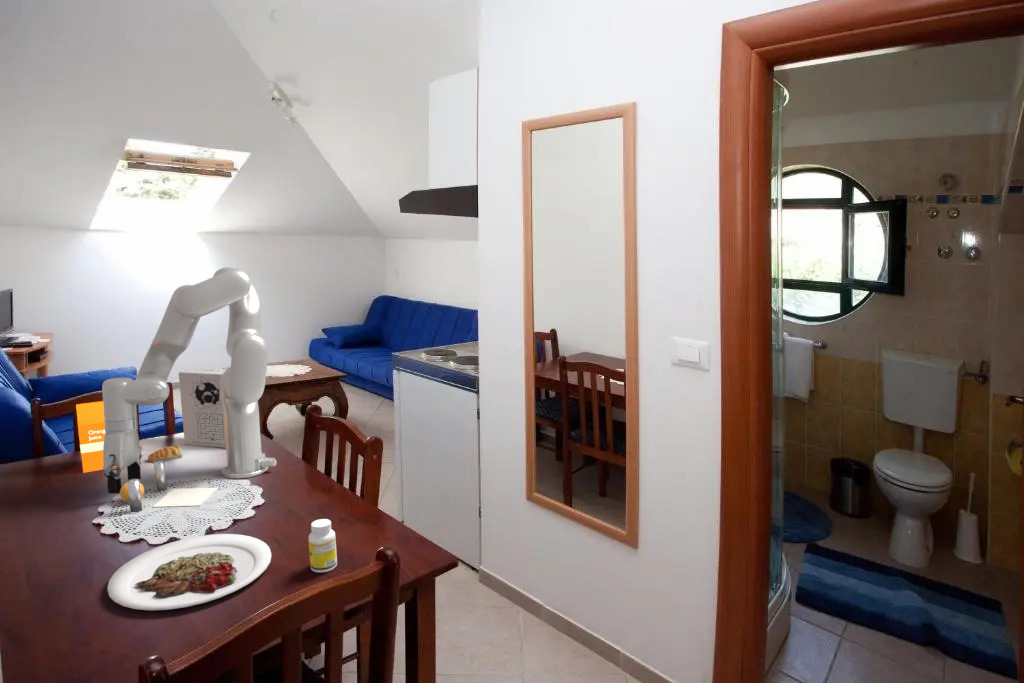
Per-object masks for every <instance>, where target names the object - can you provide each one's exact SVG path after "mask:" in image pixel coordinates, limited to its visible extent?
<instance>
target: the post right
mask: <svg viewBox="0 0 1024 683" xmlns="http://www.w3.org/2000/svg"><path fill="white" fill-rule="evenodd" d="M165 463H166V461H156V462H153V468H154V470H153V471H154V478H155V480H154V481H155V488H156V490H155V491H156V492H157V493H162V492H161V491H163V492H166V491H167V490H168V484H167V473H166V464H165ZM165 490H166V491H165Z"/></svg>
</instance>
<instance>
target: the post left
mask: <svg viewBox="0 0 1024 683" xmlns="http://www.w3.org/2000/svg"><path fill="white" fill-rule="evenodd" d="M140 483H141V482H140V480H139V479H131V480H128V479H127V484H128V493H129V502H128V503H129V511H131V512H137V513H139V511H140V512H142V511H143V503H142V497H141V492H140ZM131 512H130V513H131Z"/></svg>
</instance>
